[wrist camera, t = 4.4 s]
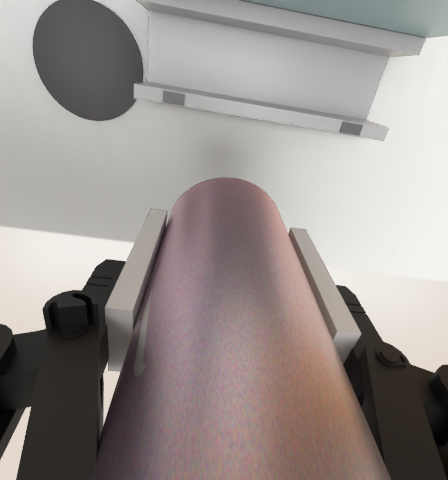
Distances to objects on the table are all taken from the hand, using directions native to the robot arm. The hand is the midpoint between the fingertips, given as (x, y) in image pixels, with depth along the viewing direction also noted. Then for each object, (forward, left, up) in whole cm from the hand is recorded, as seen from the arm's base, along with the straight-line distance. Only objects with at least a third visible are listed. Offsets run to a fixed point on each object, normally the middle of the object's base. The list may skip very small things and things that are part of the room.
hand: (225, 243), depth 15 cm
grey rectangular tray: (+2, +8, -17) cm, 19 cm away
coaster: (-13, +6, -17) cm, 22 cm away
